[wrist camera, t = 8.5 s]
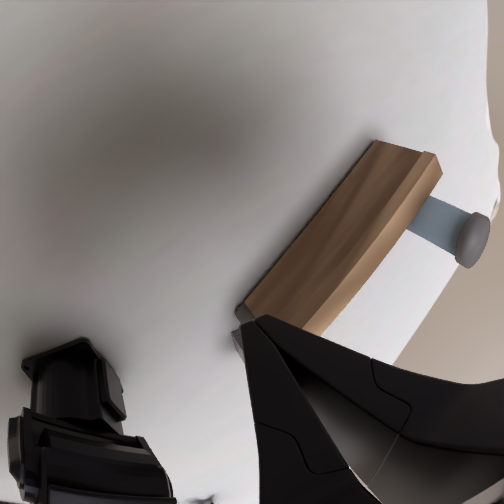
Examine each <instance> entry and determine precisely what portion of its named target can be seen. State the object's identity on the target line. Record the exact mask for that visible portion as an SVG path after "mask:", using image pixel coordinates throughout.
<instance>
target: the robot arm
mask: <svg viewBox="0 0 504 504" xmlns="http://www.w3.org/2000/svg"><path fill="white" fill-rule="evenodd" d="M239 328H240V335H241V342H242V349H243V355H244V362H245V368H246V375H247V381H248V388H249V394H250V400H251V407H252V413H253V419H254V423H255V424H254V426H255V432H256V439H257V447H258V455H259V504H382V503H383V504H504V378H503V379H499V380H495V381H490V382H486V383H481V384H461V383H456V382H451V381H447V380H442V379H438V378H434V377H430V376H426V375H422V374H418V373H414V372H411V371H407V370H403V369H400V368H398V367H395V366H392V365H389V364H386V363H384V362H381V361H379V360H376V359H373V358H371V359H370V357H368V356H366V355H363V354H361V353H358V352H356V351H353V350H351V349H348V348H346V347H344V346H341V345H339V344H336V343H334V342H332V341H329V340H327V339H324V338H322V337H320V336H317V335H315V334H313V333H310V332H308V331H306V330H303V329H301V328H299V327H297V326H294V325H292V324H290V323H287V322H285V321H283V320H281V319H278V318H276V317H274V316H272V315H270V314H263V315H260V316H258V317H256V318H254V320H249V321H247V322H245V323H242V324H240V326H239ZM82 345H86V346H82ZM27 366H28V367H27ZM21 368H22V370H23V371H24V372H25V373H26V375H27V376H28V377H29V378H30V379H31V380H32V389H31V404H30V409H28V408H25V407H23V409H22V413H21V416H17V417H14V418H9V423H8V439H7V450H8V464H9V472H10V473H11V475H12V476H13V477H14V479H15V480H16V482H17V486H18V488H19V491H20V495H21V498H22V500H23V501H26V502H30V504H177V499H176V498H175V497H173V489H172V484H171V482H170V479H169V477H168V475H167V473H166V471H165V470H164V468H163V467H162V466H161V464H160V463H159V461H158V460H157V458H156V457H155V455H154V453H153V452H152V450H151V449H150V447H149V445H148V444H147V442H146V440H145V439H144V437H140V436H135V437H133V436H127V435H124V433H123V428H122V423H121V421H124V420H126V417H127V416H126V411H125V406H124V401H123V396H122V393H123V388H122V386H121V384H120V379H119V378H118V376H117V375H116V373H115V372H114V371H113V369H112V368H111V367H110V365H109V364H108V362H107V361H106V360H105V359H103V358H101V357H100V356H99V354H98V353H97V352H96V350H95V349H94V347H93V346H92V344H91V343H90V341H89V340H87V339H84V338H82V339H79V340H76V341H73V342H71V343H68V344H65V345H63V346H60V347H57V348H55V349H52V350H49V351H47V352H44V353H41V354H39V355H36V356H33V357H30V358H28V359H25V360H23V361H22V363H21ZM348 465H349V466H350V467H351V469H352V470H353V471H354V472H355V473H356V474H357V475H358V476H359V478H360V479H361V480H362V481H363V482H364V483H365V484H366V485H368V486H367V487H368V488H369V489H370V490H371V491H372V492H373V493H374V495H376V497H377V498H378V499H379V500H380V501H381V502H382V503H381V502H380V501H378V500H377V499H376V498H375V497H374V496H373V495H372V494H371V493H370V492H369V491H368V490H367V489H366V488H365V487H363V485H362V484H361V483H360V482H359V481H358V479H357V478H356V477H355V475H354V474H353V472H352V471H351V469H349V466H348Z"/></svg>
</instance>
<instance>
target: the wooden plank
mask: <svg viewBox="0 0 504 504" xmlns="http://www.w3.org/2000/svg"><path fill="white" fill-rule="evenodd" d="M442 175H443V173H442V170H441V167H440V165H439V162H438V159H437V157H436V154H433V153H430V152H426V151H424V152H423V153H422V152H419V151H416V150H412V149H409V148H405V147H401V146H398V145H394V144H390V143H386V142H382V141H378V140H375V142H374V143H373V144H372V145H371V147H370V148H369V149H368V151H367V152H366V153H365V154H364V156H363V157H362V158H361V159H360V161H359V162H358V163H357V165H356V166H355V167H354V168H353V170H352V171H351V172H350V173H349V175H348V176H347V177H346V178H345V180H344V181H343V182H342V183H341V185H340V186H339V187H338V188H337V190H336V191H335V192H334V193H333V195H332V196H331V197H330V198H329V200H328V201H327V202H326V203H325V205H324V206H323V207H322V208H321V210H320V211H319V212H318V213H317V214H316V216H315V217H314V218H313V219H312V221H311V222H310V223H309V224H308V226H307V227H306V228H305V229H304V230H303V232H302V233H301V234H300V235H299V237H298V238H297V239H296V240H295V241H294V243H293V244H292V245H291V246H290V247H289V249H288V250H287V251H286V252H285V254H284V255H283V256H282V257H281V258H280V260H279V261H278V262H277V263H276V264H275V266H274V267H273V268H272V269H271V270H270V272H269V273H268V274H267V275H266V276H265V278H264V279H263V280H262V281H261V282H260V283H259V285H258V286H257V287H256V288H255V289H254V291H253V292H252V293H251V294H250V295H249V297H248V298H247V299H246V300H245V301H244V304H242V305H241V306H239V308H238V309H237V311H236V316H237V318H238V320H239V321H240V323H241V324H242V323H245V322H247V321H249V320H254V318H256V317H258V316H260V315H263V314H270V315H272V316H274V317H276V318H278V319H281V320H283V321H285V322H287V323H290V324H292V325H294V326H297V327H299V328H301V329H303V330H306V331H308V332H310V333H313V334H315V335H317V336H320V335H321V334H322V333H323V332H324V331H325V330H326V329H327V328H328V326H329V325H330V324H331V323H332V322H333V321H334V320H335V318H336V317H337V316H338V315H339V314H340V313H341V311H342V310H343V309H344V308H345V307H346V305H347V304H348V303H349V302H350V301H351V299H352V298H353V297H354V296H355V295H356V293H357V292H358V291H359V290H360V288H361V287H362V286H363V285H364V284H365V282H366V281H367V280H368V279H369V277H370V276H371V275H372V273H373V272H374V271H375V270H376V268H377V267H378V266H379V264H380V263H381V262H382V261H383V259H384V258H385V257H386V255H387V254H388V253H389V251H390V250H391V249H392V247H393V246H394V245H395V243H396V242H397V241H398V239H399V238H400V236H401V235H402V234H403V232H404V231H405V229H406V228H407V227H408V225H409V224H410V222H411V221H412V220H413V218H414V217H415V215H416V214H417V212H418V211H419V210H420V208H421V207H422V205H423V204H424V202H425V201H426V199H427V198H428V196H429V195H430V193H431V192H432V190H433V189H434V187H435V186H436V184H437V182H438V181H439V179H440V178H441V176H442Z"/></svg>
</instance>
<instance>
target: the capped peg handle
mask: <svg viewBox="0 0 504 504" xmlns="http://www.w3.org/2000/svg"><path fill="white" fill-rule="evenodd" d="M406 229H408V230H409V231H411V232H413V233H415V234H417V235H419V236H421V237H422V238H424V239H426V240H428V241H430V242H431V243H433V244H435V245H437V246H439V247H440V248H442V249H444V250H446V251H447V252H449V253H451V254H453V255H454V256H455V260H456V262H457V263H459V264H461V265H462V266H464V267H466V268H471V267H472V266H473V265H474V264H475V263H476V262H477V261H478V259H479V258H480V256H481V254H482V252H483V250H484V248H485V246H486V243H487V240H488V237H489V232H490V220H489V218H488V217H486V216H484V215H482V214H480V213H478V212H475V213H473V214H470V213H468V212H465V211H463V210H461V209H459V208H457V207H455V206H452V205H450V204H448V203H446V202H443V201H441V200H439V199H436V198H434V197H432V196H428V198H427V199H426V201H425V202H424V204H423V205H422V207H421V208H420V210H419V211H418V212H417V214H416V215H415V217H414V218H413V220H412V221H411V222H410V224H409V225H408V227H407V228H406Z"/></svg>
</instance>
